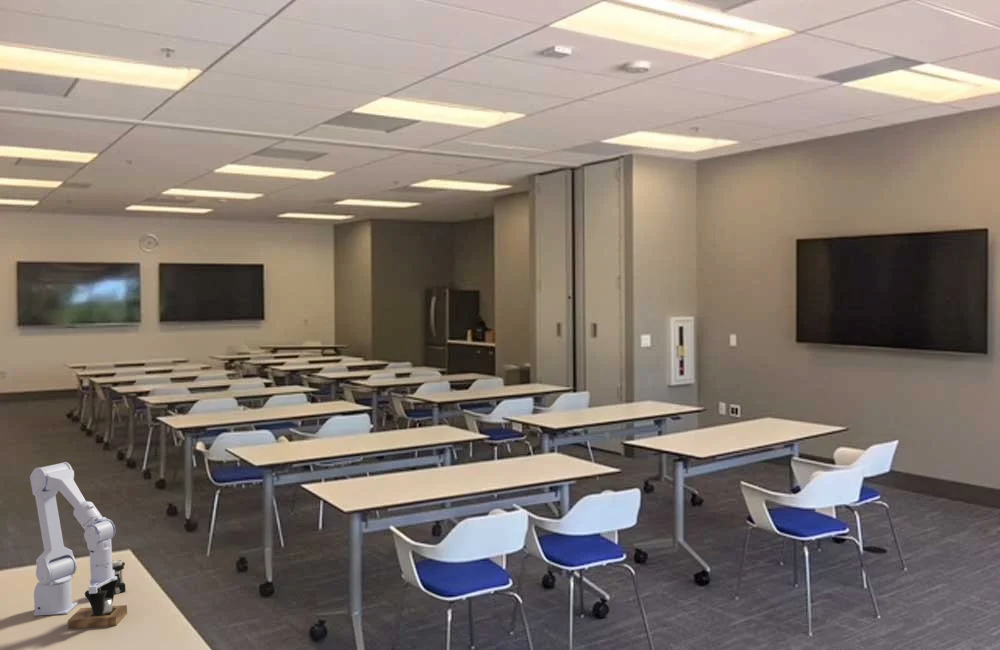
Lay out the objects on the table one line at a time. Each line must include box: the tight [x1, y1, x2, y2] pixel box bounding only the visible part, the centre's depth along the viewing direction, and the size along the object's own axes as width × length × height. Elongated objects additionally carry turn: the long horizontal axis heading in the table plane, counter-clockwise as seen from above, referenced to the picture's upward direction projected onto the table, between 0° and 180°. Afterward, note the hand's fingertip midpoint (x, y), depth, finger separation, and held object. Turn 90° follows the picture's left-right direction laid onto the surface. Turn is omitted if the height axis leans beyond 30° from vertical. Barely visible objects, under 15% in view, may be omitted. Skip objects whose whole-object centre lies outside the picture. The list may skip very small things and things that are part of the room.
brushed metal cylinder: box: [97, 598, 113, 616], centre depth 235 cm, size 4×4×6 cm
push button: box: [112, 559, 127, 595], centre depth 257 cm, size 7×5×10 cm
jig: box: [67, 604, 128, 630], centre depth 235 cm, size 13×9×2 cm
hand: (103, 609), depth 235 cm, fingers open, 7 cm apart
